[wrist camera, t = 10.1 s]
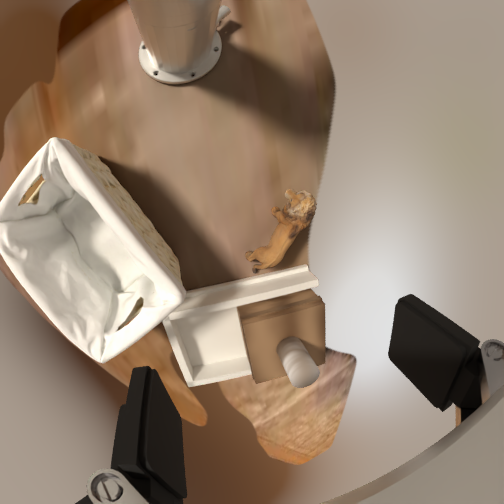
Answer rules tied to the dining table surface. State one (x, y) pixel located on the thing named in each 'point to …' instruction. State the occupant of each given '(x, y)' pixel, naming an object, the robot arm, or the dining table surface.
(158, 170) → the dining table surface
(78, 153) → the storage basket
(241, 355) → the bay
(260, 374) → the tan block with peg
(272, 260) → the lion figurine
